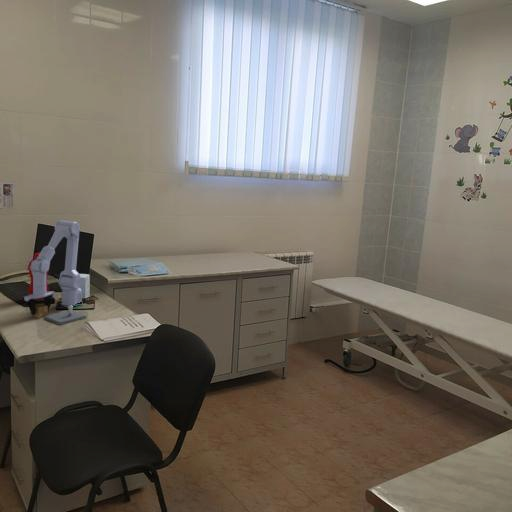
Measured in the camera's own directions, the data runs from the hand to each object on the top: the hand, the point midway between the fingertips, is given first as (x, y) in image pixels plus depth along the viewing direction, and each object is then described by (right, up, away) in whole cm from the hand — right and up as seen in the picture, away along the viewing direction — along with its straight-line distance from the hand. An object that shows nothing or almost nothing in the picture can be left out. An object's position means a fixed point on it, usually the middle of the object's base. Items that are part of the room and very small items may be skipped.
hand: (40, 312), depth 236 cm
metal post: (+14, -3, +1) cm, 15 cm away
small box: (+8, +4, +33) cm, 34 cm away
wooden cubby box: (0, -2, 0) cm, 2 cm away
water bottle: (-13, +4, +26) cm, 29 cm away
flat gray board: (+12, -3, -1) cm, 13 cm away
